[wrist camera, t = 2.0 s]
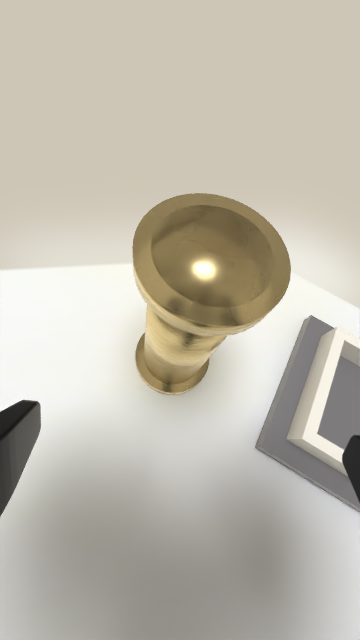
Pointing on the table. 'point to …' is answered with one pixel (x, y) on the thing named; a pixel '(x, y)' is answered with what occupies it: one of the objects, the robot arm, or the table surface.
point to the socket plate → (317, 408)
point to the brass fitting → (202, 283)
